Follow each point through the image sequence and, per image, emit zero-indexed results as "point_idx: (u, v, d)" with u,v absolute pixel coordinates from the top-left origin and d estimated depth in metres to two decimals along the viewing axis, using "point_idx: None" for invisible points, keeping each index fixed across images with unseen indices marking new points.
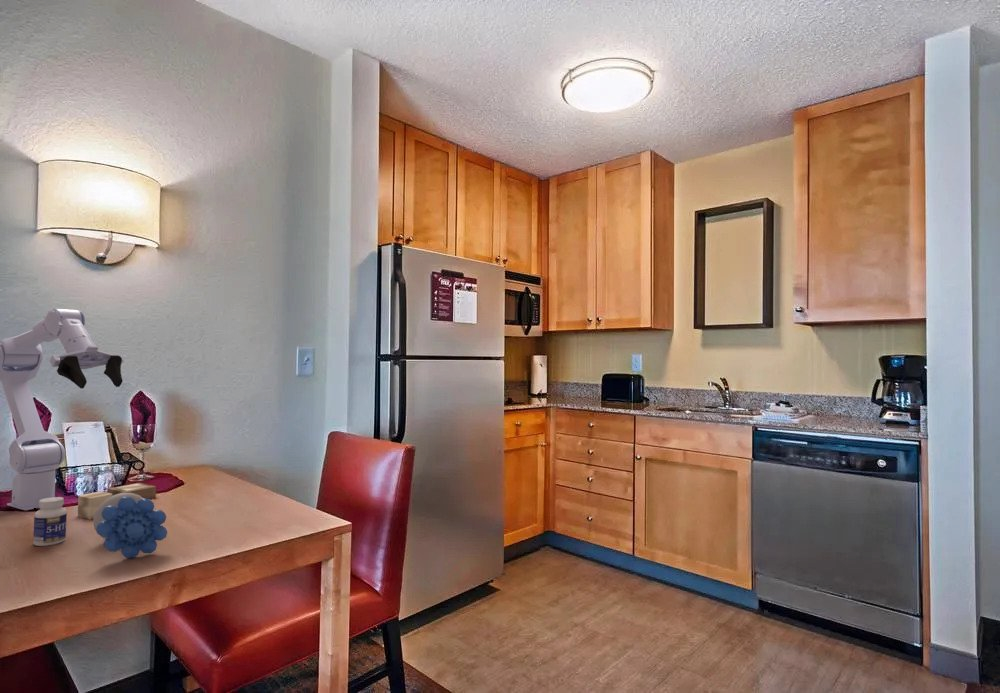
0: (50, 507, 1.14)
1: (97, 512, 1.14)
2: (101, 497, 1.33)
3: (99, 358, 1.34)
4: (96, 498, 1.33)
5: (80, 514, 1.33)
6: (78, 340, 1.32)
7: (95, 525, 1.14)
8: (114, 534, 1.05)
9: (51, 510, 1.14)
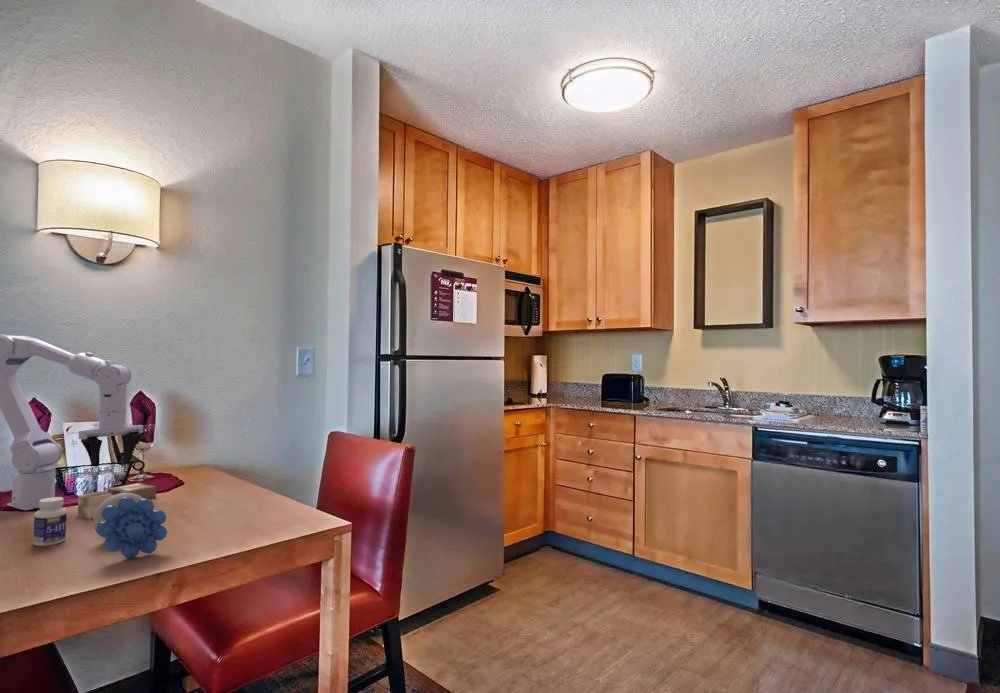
0: (50, 507, 1.14)
1: (97, 512, 1.14)
2: (101, 497, 1.33)
3: (122, 431, 1.46)
4: (96, 498, 1.33)
5: (80, 514, 1.33)
6: (112, 416, 1.42)
7: (95, 525, 1.14)
8: (114, 534, 1.05)
9: (51, 510, 1.14)
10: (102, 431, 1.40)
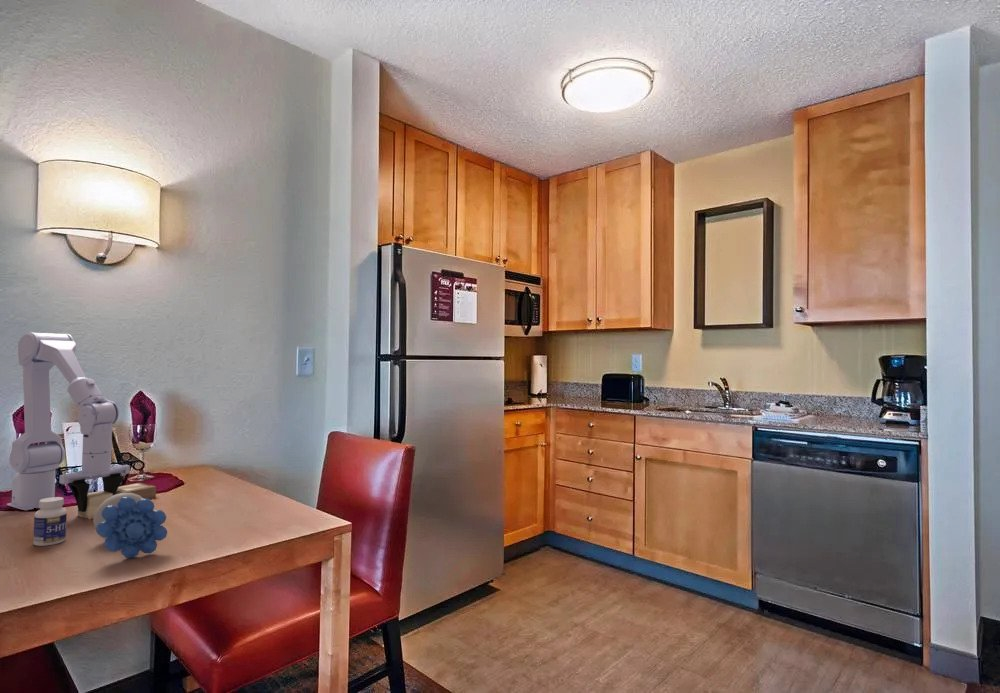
0: (50, 507, 1.14)
1: (97, 512, 1.14)
2: (101, 497, 1.34)
3: None
4: (96, 498, 1.33)
5: (80, 514, 1.33)
6: (96, 458, 1.32)
7: (95, 525, 1.14)
8: (114, 534, 1.05)
9: (51, 510, 1.14)
10: (85, 474, 1.31)
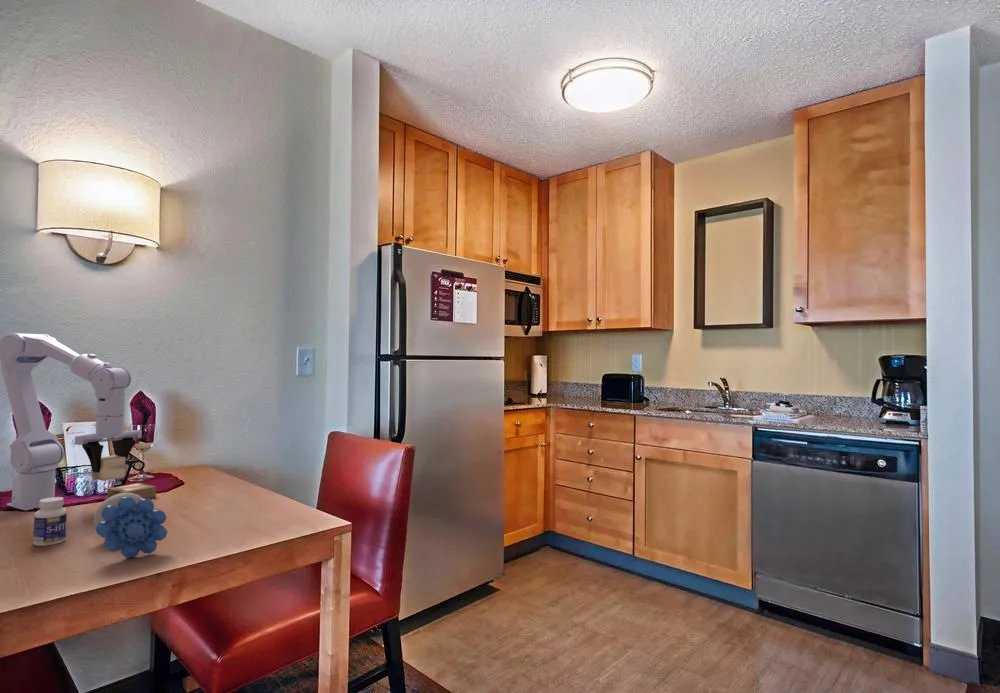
0: (50, 507, 1.14)
1: (97, 512, 1.14)
2: (114, 460, 1.38)
3: (120, 436, 1.41)
4: (110, 460, 1.37)
5: (94, 476, 1.38)
6: (109, 421, 1.37)
7: (95, 525, 1.14)
8: (114, 534, 1.05)
9: (51, 510, 1.14)
10: (99, 436, 1.36)
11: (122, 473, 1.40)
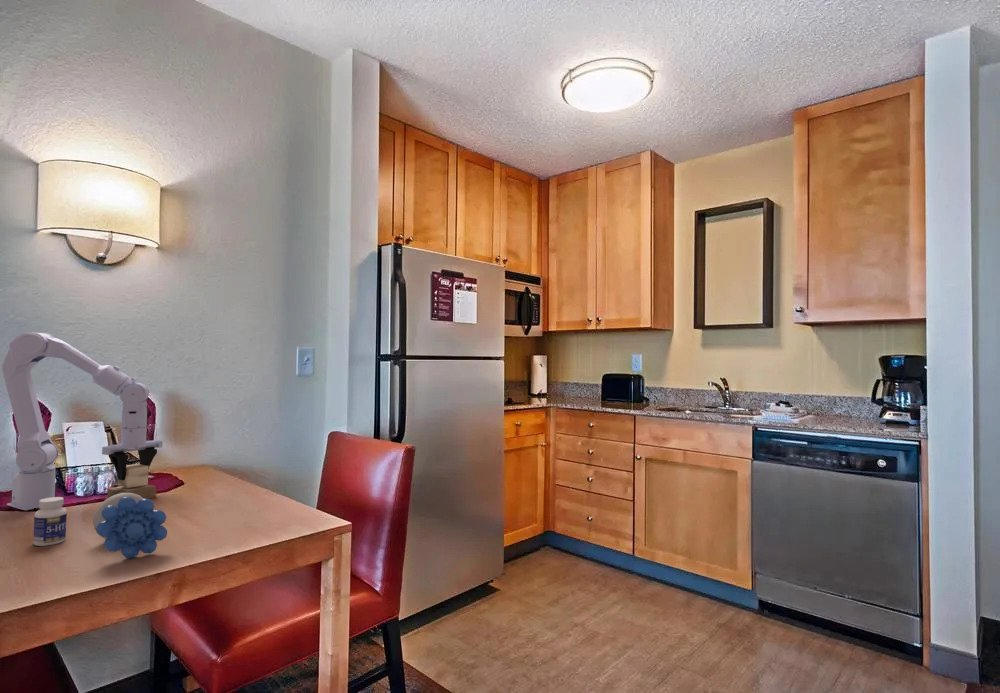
0: (50, 507, 1.14)
1: (97, 512, 1.14)
2: (138, 468, 1.49)
3: (143, 446, 1.52)
4: (134, 469, 1.48)
5: (120, 483, 1.48)
6: (133, 432, 1.48)
7: (95, 525, 1.14)
8: (114, 534, 1.05)
9: (51, 510, 1.14)
10: (124, 447, 1.46)
11: (145, 481, 1.50)
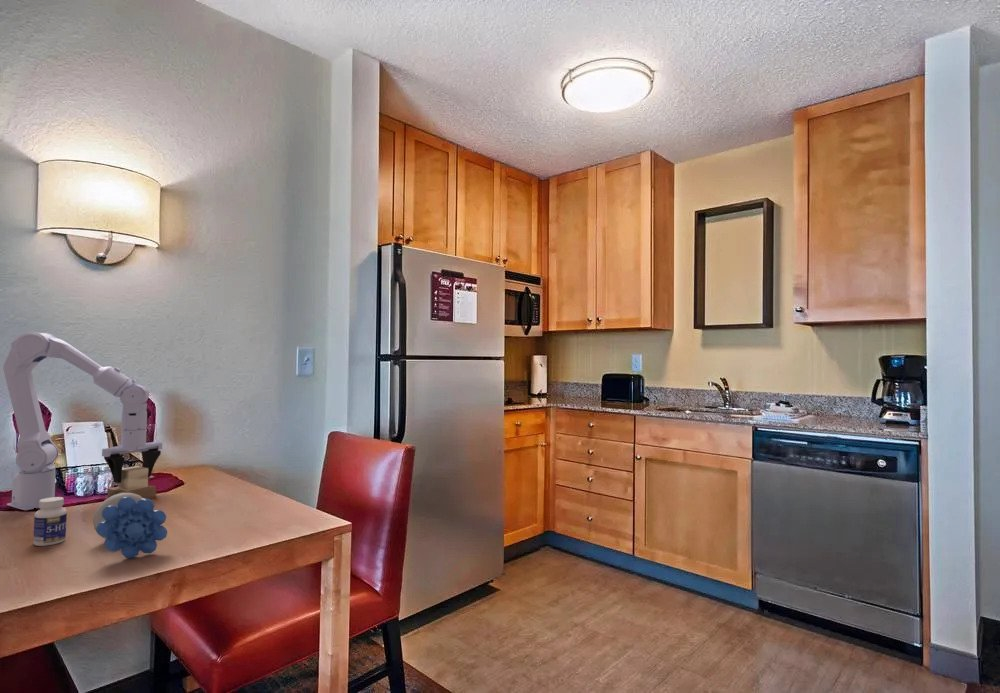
0: (50, 507, 1.14)
1: (97, 512, 1.14)
2: (138, 470, 1.49)
3: (143, 448, 1.52)
4: (134, 471, 1.48)
5: (120, 486, 1.48)
6: (133, 434, 1.48)
7: (95, 525, 1.14)
8: (114, 534, 1.05)
9: (51, 510, 1.14)
10: (124, 449, 1.46)
11: (145, 483, 1.50)
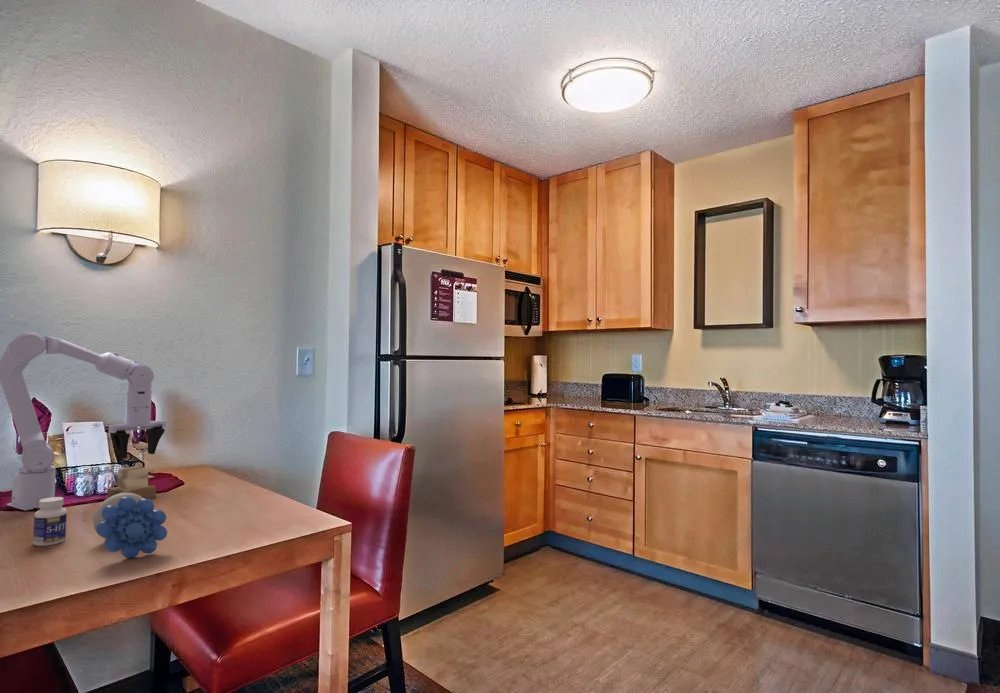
0: (50, 507, 1.14)
1: (97, 512, 1.14)
2: (138, 470, 1.49)
3: (147, 426, 1.57)
4: (134, 471, 1.48)
5: (120, 486, 1.48)
6: (138, 412, 1.54)
7: (95, 525, 1.14)
8: (114, 534, 1.05)
9: (51, 510, 1.14)
10: (130, 425, 1.52)
11: (145, 483, 1.50)
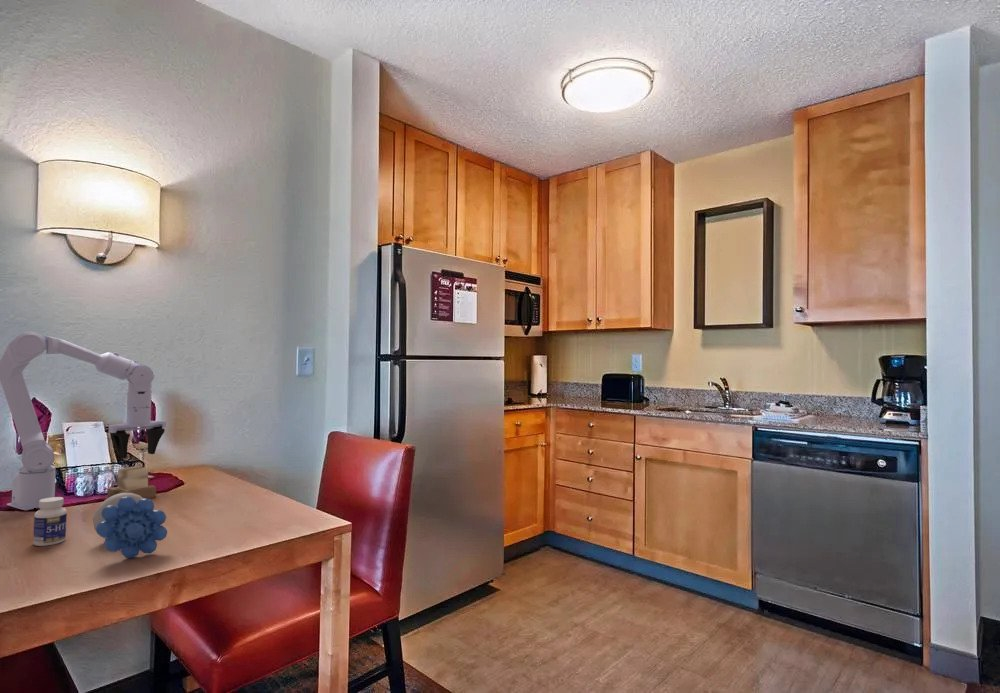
0: (50, 507, 1.14)
1: (97, 512, 1.14)
2: (138, 470, 1.49)
3: (147, 426, 1.57)
4: (134, 471, 1.48)
5: (120, 486, 1.48)
6: (138, 412, 1.54)
7: (95, 525, 1.14)
8: (114, 534, 1.05)
9: (51, 510, 1.14)
10: (130, 425, 1.52)
11: (145, 483, 1.50)
